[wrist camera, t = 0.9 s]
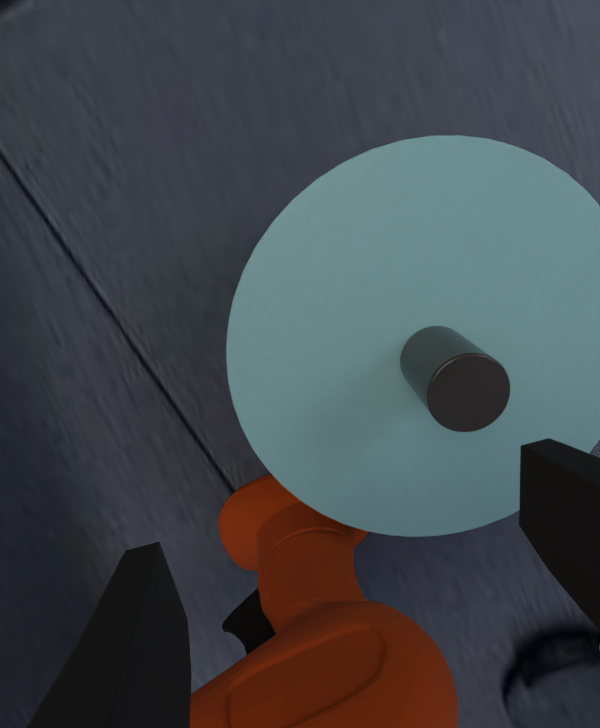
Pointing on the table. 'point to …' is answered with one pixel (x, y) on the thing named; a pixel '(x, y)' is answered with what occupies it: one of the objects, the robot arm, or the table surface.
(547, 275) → the lid
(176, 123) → the table surface
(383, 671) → the toy drill
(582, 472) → the robot arm
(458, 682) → the table surface
